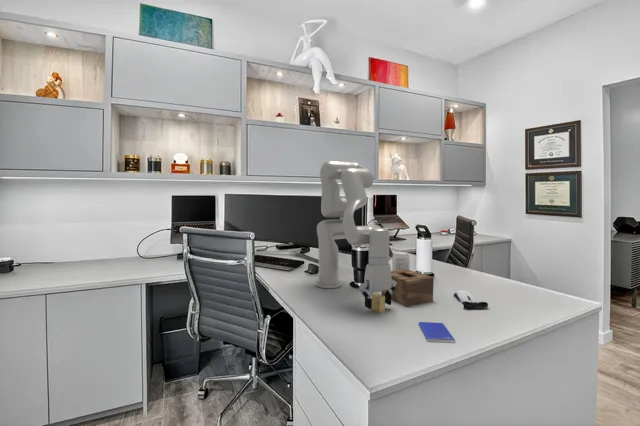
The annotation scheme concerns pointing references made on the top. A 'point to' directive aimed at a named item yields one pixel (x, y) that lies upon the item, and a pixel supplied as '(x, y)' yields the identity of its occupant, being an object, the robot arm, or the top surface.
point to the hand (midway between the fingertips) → (378, 305)
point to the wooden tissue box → (411, 287)
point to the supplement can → (400, 261)
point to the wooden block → (378, 302)
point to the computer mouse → (469, 300)
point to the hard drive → (436, 332)
